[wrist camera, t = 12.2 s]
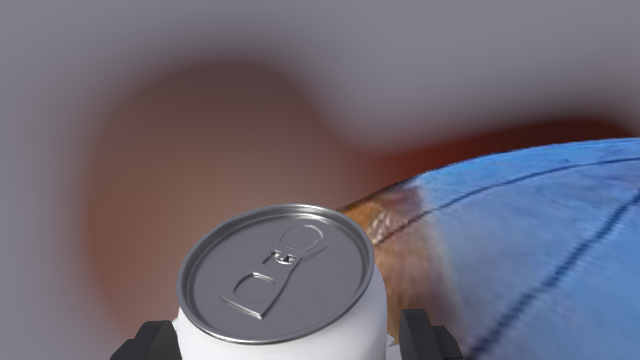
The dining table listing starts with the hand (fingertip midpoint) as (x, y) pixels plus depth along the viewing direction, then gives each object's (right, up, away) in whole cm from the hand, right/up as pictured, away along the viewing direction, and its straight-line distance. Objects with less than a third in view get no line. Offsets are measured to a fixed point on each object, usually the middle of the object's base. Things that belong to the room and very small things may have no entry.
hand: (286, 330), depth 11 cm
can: (+1, -8, +4) cm, 9 cm away
